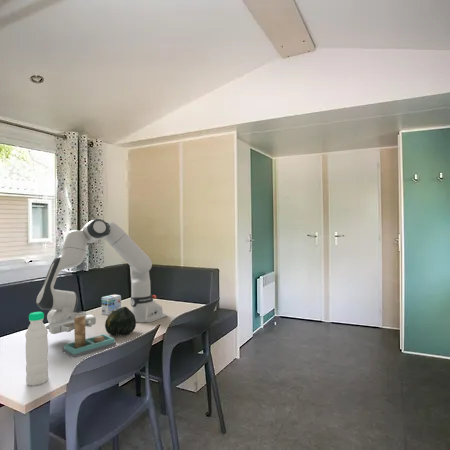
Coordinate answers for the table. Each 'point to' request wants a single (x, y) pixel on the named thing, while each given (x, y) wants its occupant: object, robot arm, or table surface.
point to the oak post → (79, 331)
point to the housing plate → (89, 345)
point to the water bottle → (36, 350)
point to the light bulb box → (111, 304)
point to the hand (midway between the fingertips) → (80, 327)
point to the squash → (120, 322)
